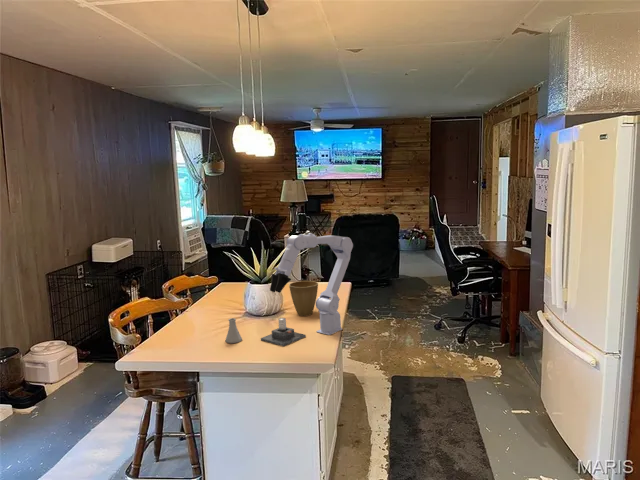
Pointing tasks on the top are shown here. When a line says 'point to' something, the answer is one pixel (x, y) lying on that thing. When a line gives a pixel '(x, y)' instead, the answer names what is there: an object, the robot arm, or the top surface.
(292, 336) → the charcoal stand
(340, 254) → the robot arm
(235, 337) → the flask
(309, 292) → the plant pot
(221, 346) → the top surface
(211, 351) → the top surface
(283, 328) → the steel column
